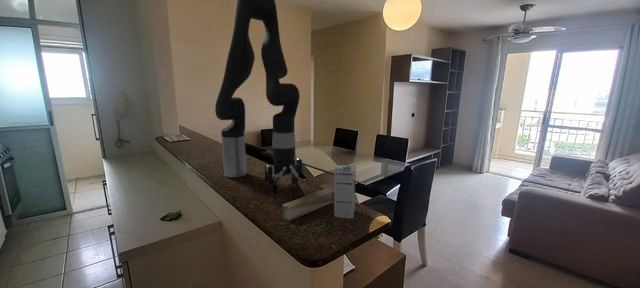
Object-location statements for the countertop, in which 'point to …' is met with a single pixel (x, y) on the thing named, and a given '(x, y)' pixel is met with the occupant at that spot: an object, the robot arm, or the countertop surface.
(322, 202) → the fence board
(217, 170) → the countertop surface
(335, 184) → the syrup box
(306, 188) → the countertop surface
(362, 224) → the countertop surface
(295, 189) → the brick
